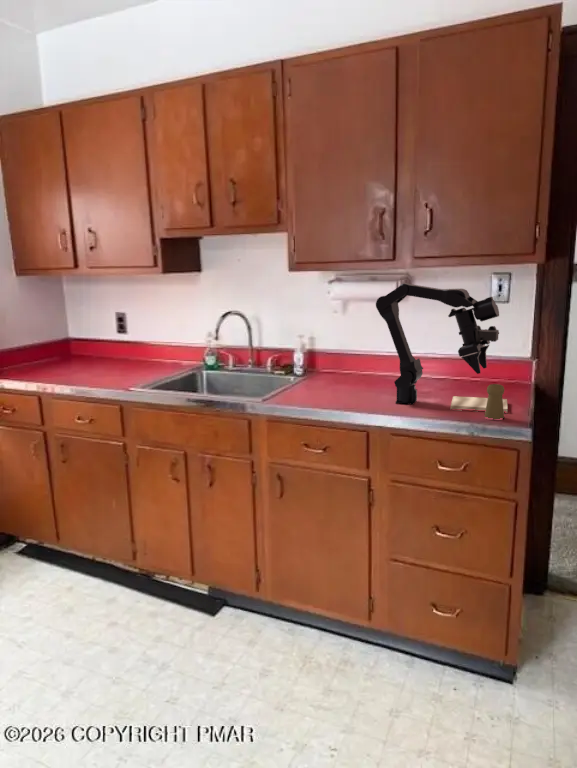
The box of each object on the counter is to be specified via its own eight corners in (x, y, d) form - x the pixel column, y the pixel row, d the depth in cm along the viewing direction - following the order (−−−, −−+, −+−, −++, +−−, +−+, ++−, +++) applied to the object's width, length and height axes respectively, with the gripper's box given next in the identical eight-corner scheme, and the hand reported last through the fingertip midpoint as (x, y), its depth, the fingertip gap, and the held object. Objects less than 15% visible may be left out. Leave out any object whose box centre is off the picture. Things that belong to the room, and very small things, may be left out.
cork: (505, 421, 178) (506, 387, 175) (484, 420, 180) (486, 386, 177) (503, 415, 184) (505, 382, 181) (483, 414, 185) (485, 382, 183)
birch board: (450, 409, 192) (450, 405, 192) (453, 400, 204) (453, 396, 204) (507, 413, 186) (507, 408, 186) (506, 403, 198) (507, 399, 198)
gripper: (485, 322, 174) (501, 370, 175) (497, 315, 190) (511, 359, 191) (451, 332, 181) (466, 378, 181) (465, 325, 196) (479, 367, 197)
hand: (482, 370), depth 187 cm, fingers open, 9 cm apart
